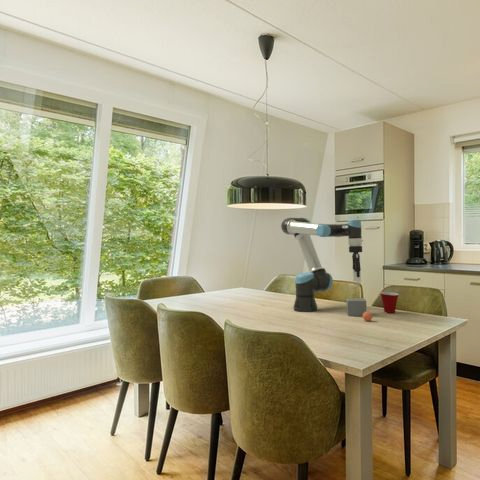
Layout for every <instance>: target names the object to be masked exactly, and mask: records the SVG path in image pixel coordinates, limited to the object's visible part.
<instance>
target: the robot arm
mask: <svg viewBox="0 0 480 480" xmlns="http://www.w3.org/2000/svg"><path fill="white" fill-rule="evenodd" d="M280 228H281V231H282V232H283V233H284V234H286V235H291V236H292V235H293V236H294V239H295V240H297V241H298V243H299V246H300V248H301V251H302V255H303V257H304V260H305V263H306V266H307V268H308V271H307V272H301V273H297V274H296V275H295V300H294V302H293V311H296V312H303V313H305V312H306V313H310V312H315V311H318V305H317V302H316V298H315V293H319V292H325V291H329V290H330V289H331V288H332V286H333V285H334V284H333V282H334V280H333V277H332V275H331V274H330V273H328V272H327V270H326V268H325V267H322V264H321V261H320V258H319V256H318V254H317V251H316V248H315V246H314V243H313V240H312V238H311V236H317V237H320V238H332V237H333V238H334V237H336V238H340V237H341V238H343V237H347V238H348V252H349V253H352V254H351V255H352V256H351V257H352V274H353V275H352V276H353V282H355V284H361V283H362V281H361V280H362V278H361V269H362V268H361V259H360V258H361V255H360V253H363V246H362V245H363V242H364V239H363V238H362V221H361V219H349V220H347V223H342V224H341V223H339V224H337V223H335V224H334V223H333V224H332V223H331V224H330V223H329V224H328V223H315V222H311V220H310V219H308V218H306V217H286V218H284V219H283V220H282V222H281V224H280Z"/></svg>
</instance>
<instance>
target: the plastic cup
mask: <svg viewBox="0 0 480 480" xmlns="http://www.w3.org/2000/svg"><path fill="white" fill-rule="evenodd" d="M379 293H380V298H381V301H382V307H383V311H384V313H385V312H386V313H385V314H395V313H396V309H397V303H398V298H399V296H400V293H397V292H391V291H380V292H379Z"/></svg>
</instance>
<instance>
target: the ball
mask: <svg viewBox="0 0 480 480" xmlns="http://www.w3.org/2000/svg"><path fill="white" fill-rule="evenodd" d="M362 319H363V320H364V321H366V322H370V321H372V320H373V314H372V313H371V312H370V311H367V312H364V313H363V316H362Z"/></svg>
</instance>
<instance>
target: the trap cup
mask: <svg viewBox="0 0 480 480" xmlns="http://www.w3.org/2000/svg"><path fill="white" fill-rule="evenodd" d="M345 299H346V301H345V302H346V314H347V317H363V313H364V312H368V311H367V300H366V298H364V297H347V298H345Z"/></svg>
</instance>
